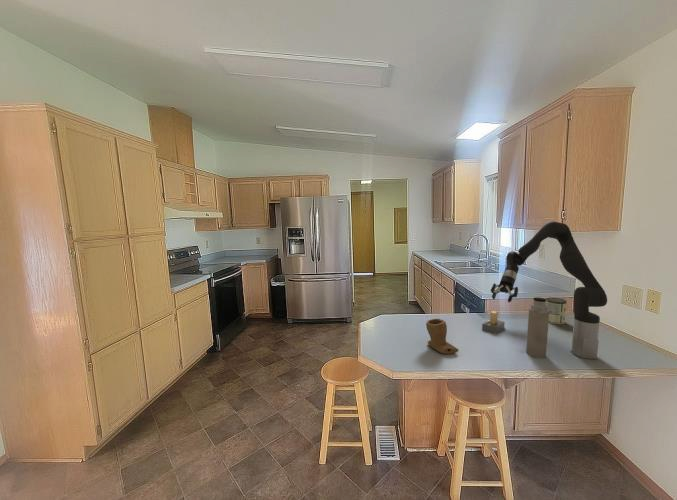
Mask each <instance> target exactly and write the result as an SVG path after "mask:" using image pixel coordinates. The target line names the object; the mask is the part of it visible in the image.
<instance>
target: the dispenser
mask: <svg viewBox="0 0 677 500" xmlns="http://www.w3.org/2000/svg"><path fill="white" fill-rule="evenodd" d="M505 322H506V321H502V320H498V319H497V323H496V324H491V323H490V318H489V319H487V320H486V321H484V322H483V323H482V324H481V329H482V330H483V331H486V332H490V333H494V334H498V333H499V332H501V331H502V330H503V329H505Z"/></svg>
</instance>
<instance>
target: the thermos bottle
mask: <svg viewBox="0 0 677 500" xmlns="http://www.w3.org/2000/svg"><path fill="white" fill-rule="evenodd" d="M548 321H549V311H548V306H547V305H546V298H544V297H533V302H532V303H531V304H530V307H529V309H528V321H527V336H526V350H525V353H526V354H527V355H529V356H530V357H533V358H537V359H538V358H539V359H544V358H546V357H547V350H548V349H547V345H548V335H549V334H548V333H549V332H548V331H549V322H548Z"/></svg>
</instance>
